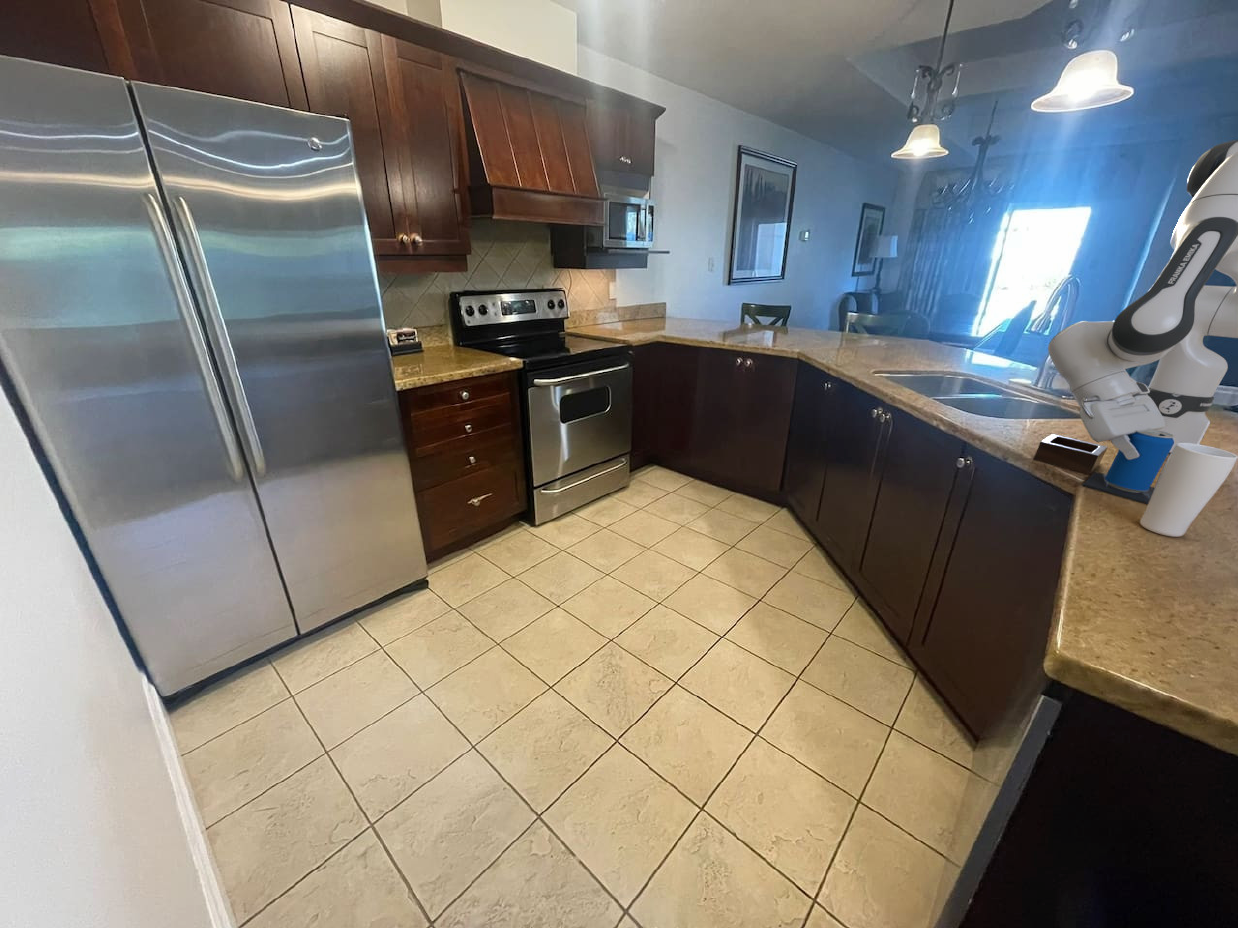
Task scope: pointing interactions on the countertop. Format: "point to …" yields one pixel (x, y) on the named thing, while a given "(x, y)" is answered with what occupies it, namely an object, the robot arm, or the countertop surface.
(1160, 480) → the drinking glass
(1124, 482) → the beverage can
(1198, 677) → the countertop surface
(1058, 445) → the box
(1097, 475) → the coaster
